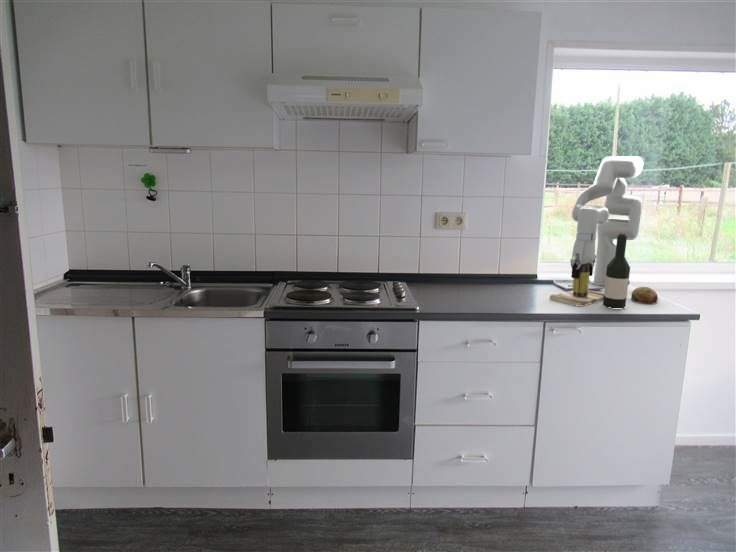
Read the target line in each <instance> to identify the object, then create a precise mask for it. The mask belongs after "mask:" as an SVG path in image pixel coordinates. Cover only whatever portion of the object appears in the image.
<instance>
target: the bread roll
mask: <svg viewBox="0 0 736 552" xmlns="http://www.w3.org/2000/svg"><path fill="white" fill-rule="evenodd" d="M630 298H631V299H630V300H632V302H635V303H639V304H644V305H654V304H657V302H658V299H659V296H658V294H657V292H656V291H655V290H654V289H653V288H650V287H649V286H641V287H636V288H635V289H633V290H632V292H631V294H630Z"/></svg>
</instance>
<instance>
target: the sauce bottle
mask: <svg viewBox="0 0 736 552" xmlns="http://www.w3.org/2000/svg"><path fill="white" fill-rule="evenodd" d="M576 265H578V264H576ZM589 268H590V266H589V264H588V263H587V264H583V265H581V266H580V268H579V270H580V272H579V279H575V278H572V279H573V281H572V291H573V295H574V296H577V297H585V296H588V290H589V287H590V286H589V285H590V276H589V273H590V270H589Z"/></svg>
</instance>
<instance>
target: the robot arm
mask: <svg viewBox="0 0 736 552" xmlns="http://www.w3.org/2000/svg"><path fill="white" fill-rule="evenodd" d="M643 168H644V161H643V158H642V157H641V156H636V155H634V156H623V155H621V156H617V155H615V156H614V155H613V156H612V155H611V156H606V157H604V158H603V159H602V160H601V163H600V165H599V168H598V170H597V172H596V176H595V179H594V181H593V185H590V186H589V187H588V188H586V189H585V190H583V192H581V193H580V194H579V195H578V196H577V198H576V200H575V203H574V205H573V209H572V213H571V218H572V220H573V221H574V222H575V223H577V225H576V235H575V241H574V244H573V248H572V255H571V258H570V261H569V262H570V266H571V276H570V277H571V278H572V279H573V278H575V279H579V272H580V270H579V268H580V266H581V265H583V264H587V263H588V264H589V266H590V268H589V270H590V273H589V277H592V276H593V271H594V276H593V278H590V279H589V282H590V281H591V282H593V283H595V284H594V285H596V284H598V285H597V286H601V287H605V281H606V272H607V265H608V264H609V263H610V262H611V260H612V259H613V258H614V257H615V253H616V244H617V236H618V235H619V233H625V234H626V236H627V241H634V240H635V239H637V238H638V235H639V229H640V223H641V217H642V210H643V209H642V208H643V201H642V198H641V197H639V196H636V195H627V187H628V184H627V181H626V180H625V179H633V178H636V177H638V176H639V175H640V174H641V173H642V171H643V170H644V169H643ZM600 198H604V203H603V205H602V206H601V205H590V204H588V203H589V202H591V201H594V200H597V199H600ZM610 216H616V217H627V219H626V218H625V219H624V218H613V217H610ZM596 238H597V248H596ZM576 264H578V265H576ZM591 282H590V283H591Z"/></svg>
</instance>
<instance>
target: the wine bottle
mask: <svg viewBox="0 0 736 552" xmlns="http://www.w3.org/2000/svg"><path fill="white" fill-rule="evenodd" d="M627 241H628V240H627V236H626V234H625V233H619V235H618V236H617V239H616V243H617V244H616V253H615V257H614V258H613V259H612V260H611V262H610V263H609V264H608V265H607V272H606V281H605V286H604V288H603V289H604V290H603V293H604V298H603V301H602V306H603V305H604V306H606V307H611V308H624V307H625V308H626V305H627V299H628V298H627V296H628V291H629V281H630V271H631V266H630V265H629V264H630V263H628V261H627V259H626V247H627ZM604 306H603V307H604ZM606 307H605V308H606ZM611 308H610V309H611ZM625 308H624V309H625Z"/></svg>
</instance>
